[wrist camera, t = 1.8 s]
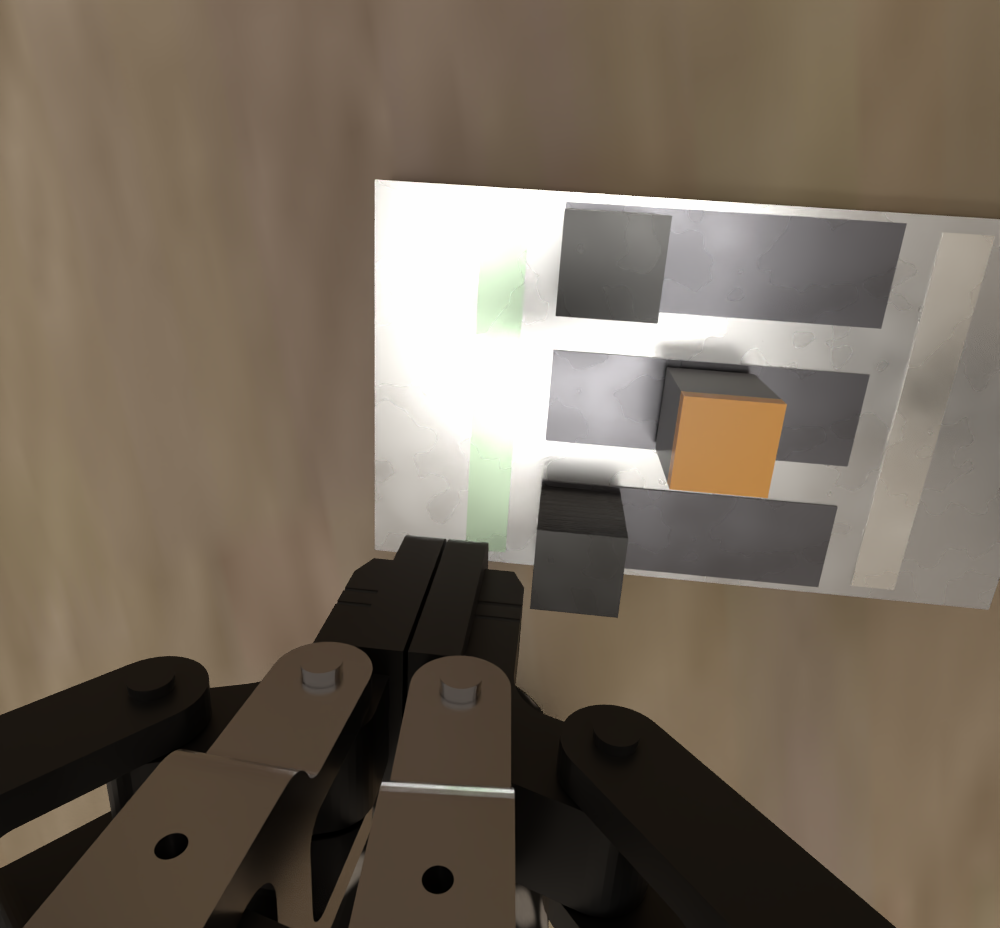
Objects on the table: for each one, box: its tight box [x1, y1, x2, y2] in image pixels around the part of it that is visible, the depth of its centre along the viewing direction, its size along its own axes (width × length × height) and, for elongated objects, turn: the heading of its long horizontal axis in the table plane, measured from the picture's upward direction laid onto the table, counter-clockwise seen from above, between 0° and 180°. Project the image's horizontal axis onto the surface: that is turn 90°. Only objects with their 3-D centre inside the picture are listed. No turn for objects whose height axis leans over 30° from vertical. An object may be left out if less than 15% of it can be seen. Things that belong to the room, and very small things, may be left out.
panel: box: [375, 180, 1000, 618], centre depth 25 cm, size 24×14×6 cm, turn 87°
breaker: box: [655, 367, 787, 498], centre depth 24 cm, size 3×3×4 cm
